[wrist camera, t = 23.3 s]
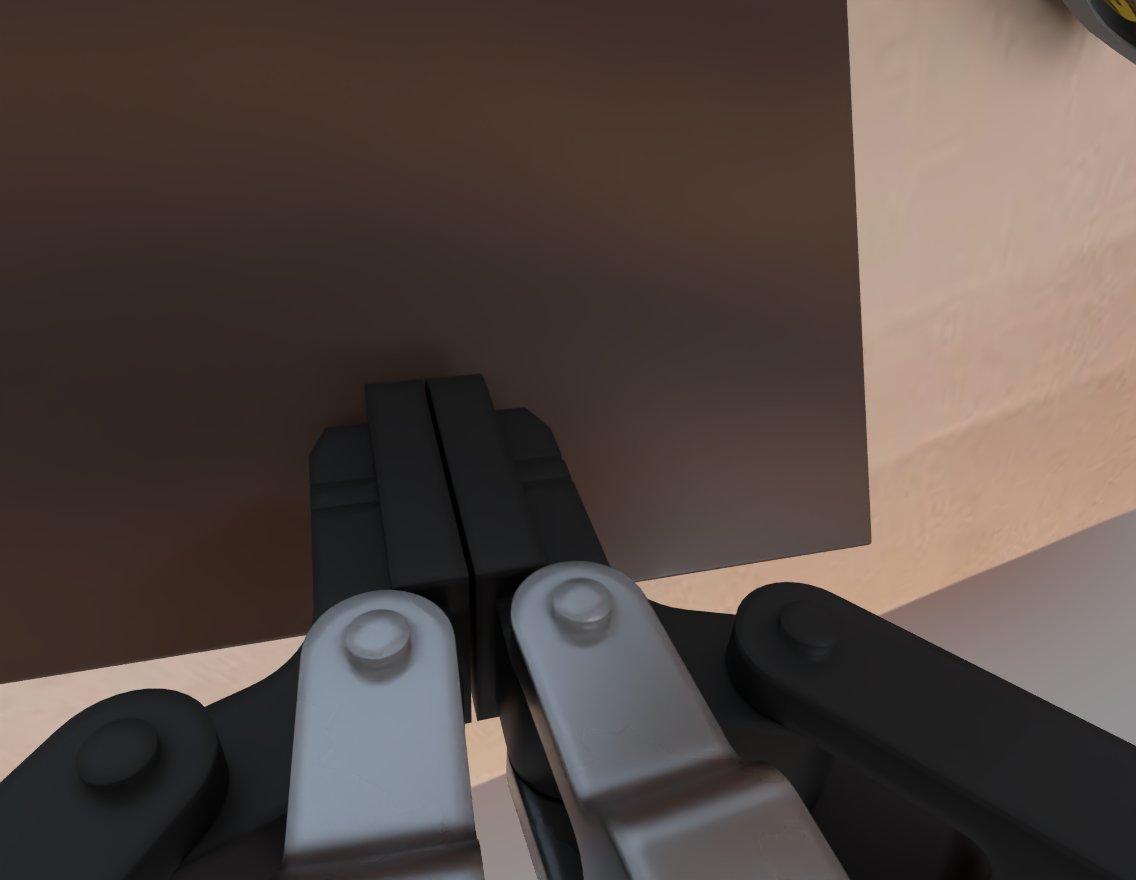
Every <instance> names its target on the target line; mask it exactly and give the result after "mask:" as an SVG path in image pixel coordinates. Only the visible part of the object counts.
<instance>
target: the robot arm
mask: <svg viewBox="0 0 1136 880" xmlns="http://www.w3.org/2000/svg"><path fill="white" fill-rule="evenodd" d="M364 389H365V399H366V409H367V418H368V424H358V425H348V426H339V427H329V428H325V430H324V431H323V433H322V434H321V436H320V438H319V439H318V441H317V443H316V444H315V446H314V447H313V449H312V451H311V452H310V454H309V478H310V509H311V541H312V572H313V603H314V610H313V620H312V624H311V627H310V630H309V632H308V633H307V635H306V638H305V640H304V642H303V643H302V645H301V646H300V648H299V649H298V651H297V652H296V653H295V654H294V655H293V656H292V657H291V658H290V659H289V660H288V661H287V662H286V663H285V664H284V665H283V666H282V667H280V668H279V669H278V670H277V671H275V672H274V673H272V674H271V675H269V676H268V677H266V678H265V679H263V680H261V681H259V682H258V683H256V684H254V685H252V686H250V687H248V688H245V689H243V690H241V691H239V692H237V693H234V694H232V695H230V696H228V697H226V698H223V699H221V700H219V701H217V702H214V703H212V704H210V705H208V706H206V707H204V706H203V705H202V704H201V703H200V702H199V701H197V700H196V699H194V698H192V697H191V696H189V695H187V694H184V693H181V692H178V691H174V690H167V689H142V690H134V691H129V692H126V693H122V694H118V695H115V696H112V697H110V698H107V699H104V700H102V701H100V702H98V703H96V704H94V705H92V706H90V707H88V708H86V709H84V710H83V711H81V712H80V713H78V714H77V715H75V716H74V717H72V718H71V719H70V720H68V721H67V722H66V723H65V724H64V725H62V726H61V727H60V728H59V729H58V730H56V731H55V732H54V733H53V734H52V735H51V736H50V737H49V738H48V739H47V740H46V741H45V742H44V743H42V744H41V745H40V746H39V747H38V748H37V749H36V750H35V751H34V752H33V753H32V754H31V755H30V756H28V757H27V758H26V759H25V760H24V761H23V762H22V763H21V764H20V765H19V766H18V767H17V768H16V769H14V770H13V771H12V772H11V773H10V774H9V775H8V776H7V777H6V778H5V779H4V780H3V781H2V782H0V880H484V871H483V863H482V856H481V850H480V844H479V841H478V839H477V836H476V831H475V823H474V814H473V805H472V796H471V785H470V776H469V766H468V757H467V747H466V738H465V724H466V723H471V693H472V698H473V702H474V707H475V712H476V717H477V721H479V720H484V719H489V718H494V717H499V716H500V721H501V725H502V729H503V733H504V737H505V742H506V746H507V765H506V771H507V781H508V786H509V789H510V792H511V795H512V799H513V802H514V805H515V808H516V811H517V815H518V818H519V820H520V824H521V827H522V831H523V834H524V837H525V840H526V843H527V846H528V850H529V852H530V856H531V859H532V862H533V865H534V869H535V872H536V875H537V878H538V880H1136V746H1135V745H1133V744H1131V743H1129V742H1127V741H1125V740H1123V739H1121V738H1119V737H1117V736H1115V735H1113V734H1111V733H1109V732H1107V731H1105V730H1103V729H1101V728H1099V727H1097V726H1095V725H1093V724H1091V723H1089V722H1087V721H1085V720H1083V719H1081V718H1079V717H1077V716H1075V715H1073V714H1071V713H1069V712H1067V711H1065V710H1063V709H1061V708H1059V707H1057V706H1055V705H1053V704H1051V703H1049V702H1048V701H1046V700H1043V699H1042V698H1040V697H1037V696H1036V695H1034V694H1032V693H1029V692H1028V691H1026V690H1023V689H1022V688H1020V687H1018V686H1016V685H1014V684H1012V683H1010V682H1008V681H1006V680H1004V679H1002V678H1000V677H998V676H996V675H994V674H992V673H990V672H988V671H986V670H984V669H982V668H980V667H978V666H976V665H974V664H972V663H970V662H968V661H966V660H964V659H962V658H960V657H958V656H956V655H954V654H952V653H950V652H948V651H946V650H944V649H942V648H940V647H938V646H936V645H934V644H932V643H930V642H928V641H926V640H925V639H923V638H920V637H919V636H917V635H915V634H913V633H911V632H908V631H907V630H905V629H903V628H901V627H899V626H897V625H895V624H893V623H891V622H889V621H887V620H885V619H883V618H881V617H879V616H877V615H875V614H873V613H871V612H869V611H867V610H865V609H863V608H861V607H859V606H857V605H855V604H853V603H851V602H849V601H847V600H845V599H843V598H841V597H839V596H837V595H835V594H833V593H831V592H829V591H826V590H824V589H822V588H818V587H815V586H812V585H808V584H802V583H794V582H781V583H773V584H768V585H765V586H762V587H760V588H757V589H756V590H754V591H752V592H751V593H749V594H748V595H747V596H746V597H745V598H744V599H743V600H742V602H741V604H740V605H739V607H738V610H737V613H736V615H733V614H724V613H714V612H704V611H694V610H685V609H679V608H673V607H669V606H665V605H662V604H659V603H656V602H654V601H651V600H649V599H647V597H646V596H645V594H644V593H643V591H642V590H641V589H640V587H639V586H638V585H637V584H636V583H635V582H634V581H633V580H631V579H630V578H629V577H627V576H626V575H625V574H623V573H621V572H619V571H617V570H615V569H613V568H611V566H610V564H609V562H608V560H607V558H606V555H605V553H604V551H603V548H602V546H601V544H600V541H599V539H598V537H597V535H596V532H595V530H594V528H593V525H592V523H591V521H590V518H589V516H588V514H587V511H586V509H585V507H584V504H583V502H582V500H581V498H580V495H579V493H578V491H577V488H576V486H575V484H574V482H572V480H571V474H570V472H569V470H568V467H567V465H566V463H565V460H562V454H561V451H560V449H559V447H558V444H557V442H556V440H555V437H554V435H553V433H552V430H551V428H550V427H549V426H547V425H546V424H545V423H544V422H543V421H541V420H540V419H539V418H538V417H537V416H535V415H534V414H533V413H532V412H531V411H529V410H528V409H527V408H526V407H521V408H511V409H501V410H495V408H494V405H493V402H492V399H491V397H490V394H489V391H488V388H487V385H486V382H485V380H484V377H483V375H482V374H470V375H459V376H448V377H437V378H426V379H425V390H424V386H423V382H422V380H421V379H418V380H407V381H396V382H385V383H374V384H364Z"/></svg>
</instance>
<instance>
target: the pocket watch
mask: <svg viewBox="0 0 1136 880" xmlns="http://www.w3.org/2000/svg"><path fill="white" fill-rule="evenodd" d="M1062 1H1063V2H1064V4H1065V5H1066V6H1067V7H1068V9H1069V10H1070V11H1071V12H1072V13H1073V14H1074V15H1075V17H1076V18H1077V19H1078V20H1079V21H1080V22H1081V23H1082V24H1083V25H1084V26H1085V27H1086V28H1087V29H1088V31H1090V32H1091V33H1092V34H1094V35H1095V36H1096V37H1098V38H1099V39H1100V40H1102V41H1103V42H1104V43H1106V44H1107V45H1108V46H1110V47H1111V48H1112V49H1114V50H1115V51H1116V52H1118V53H1119V54H1121V55H1122V56H1124V57H1125V58H1127V59H1128V60H1130V61H1131V62H1133V63H1134V64H1136V0H1062Z"/></svg>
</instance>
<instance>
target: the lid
mask: <svg viewBox="0 0 1136 880" xmlns="http://www.w3.org/2000/svg"><path fill="white" fill-rule="evenodd" d="M470 374H482V375H483V377H484V380H485V382H486V385H487V388H488V391H489V394H490V397H491V399H492V402H493V405H494V408H495V410H501V409H511V408H521V407H526V408H527V409H528V410H529V411H531V412H532V413H533V414H534V415H535V416H537V417H538V418H539V419H540V420H541V421H543V422H544V423H545V424H546V425H547V426H549V427H550V428H551V430H552V433H553V435H554V437H555V440H556V442H557V444H558V447H559V449H560V451H561V454H562V460H565V463H566V465H567V467H568V470H569V472H570V474H571V480H572V482H574V484H575V486H576V488H577V491H578V493H579V495H580V498H581V500H582V502H583V504H584V507H585V509H586V511H587V514H588V516H589V518H590V521H591V523H592V525H593V528H594V530H595V532H596V535H597V537H598V539H599V541H600V544H601V546H602V548H603V551H604V553H605V555H606V558H607V560H608V562H609V564H610V566H611V568H613V569H615V570H617V571H619V572H621V573H623V574H625V575H626V576H627V577H629V578H630V579H631V580H633V581H634V582H640V581H646V580H652V579H658V578H665V577H671V576H677V575H683V574H690V573H696V572H702V571H708V570H714V569H721V568H727V567H733V566H739V565H746V564H752V563H758V562H764V561H770V560H777V559H783V558H789V557H795V556H802V555H808V554H814V553H820V552H826V551H833V550H839V549H845V548H851V547H858V546H864V545H869V544H871V521H870V499H869V477H868V455H867V433H866V412H865V390H864V368H863V346H862V324H861V302H860V280H859V259H858V237H857V215H856V193H855V171H854V149H853V128H852V106H851V84H850V62H849V40H848V18H847V0H0V684H5V683H11V682H17V681H23V680H30V679H36V678H42V677H48V676H54V675H61V674H67V673H73V672H79V671H86V670H92V669H98V668H104V667H110V666H117V665H123V664H129V663H135V662H142V661H148V660H154V659H160V658H166V657H173V656H179V655H185V654H191V653H198V652H204V651H210V650H216V649H223V648H229V647H235V646H241V645H247V644H254V643H260V642H266V641H272V640H279V639H285V638H291V637H297V636H303V635H307V633H308V632H309V630H310V627H311V624H312V620H313V610H314V603H313V572H312V541H311V509H310V478H309V454H310V452H311V451H312V449H313V447H314V446H315V444H316V443H317V441H318V439H319V438H320V436H321V434H322V433H323V431H324V430H325V428H329V427H339V426H348V425H358V424H368V418H367V409H366V399H365V389H364V384H374V383H385V382H396V381H407V380H418V379H421V380H422V382H423V386H424V390H425V379H426V378H437V377H448V376H459V375H470Z"/></svg>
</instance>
